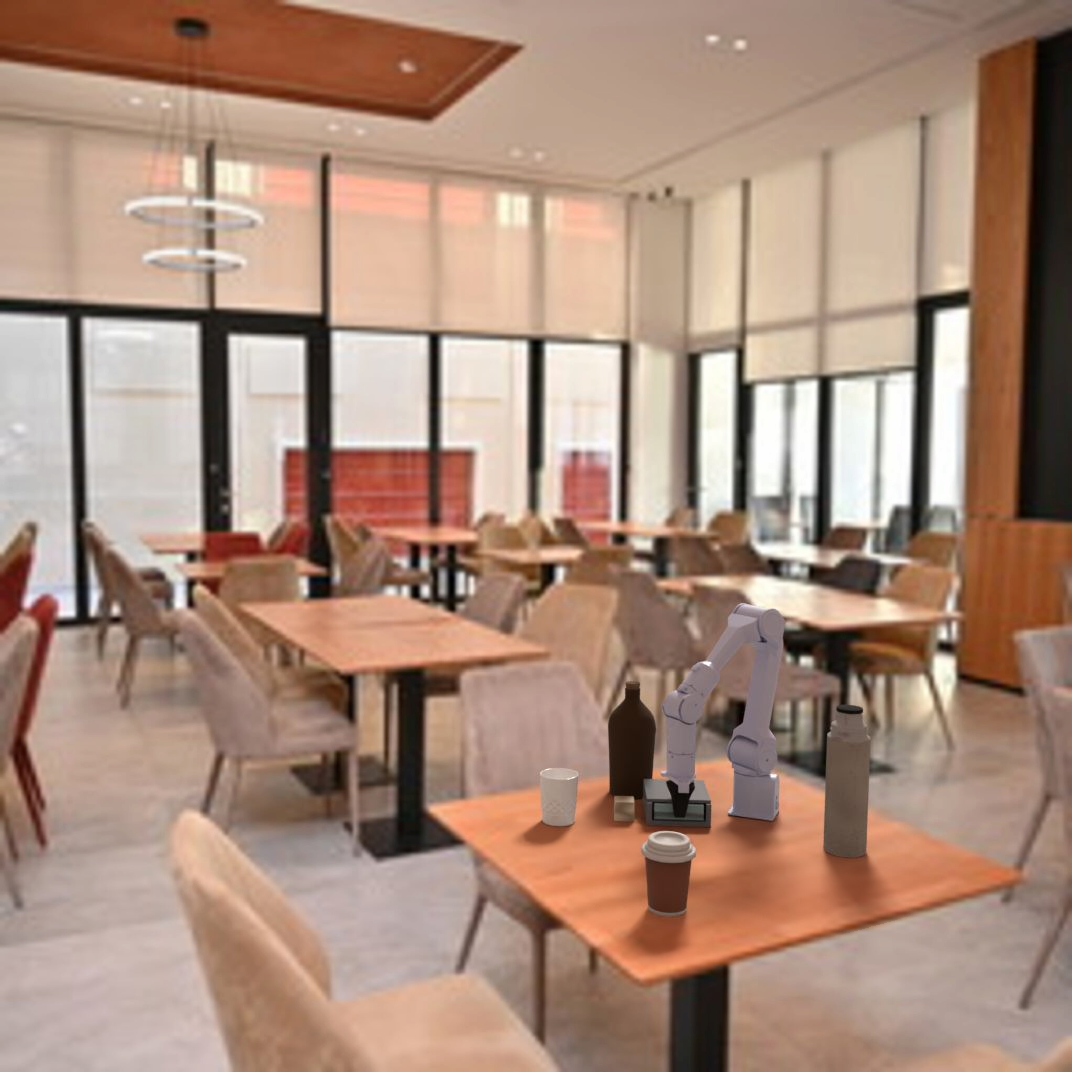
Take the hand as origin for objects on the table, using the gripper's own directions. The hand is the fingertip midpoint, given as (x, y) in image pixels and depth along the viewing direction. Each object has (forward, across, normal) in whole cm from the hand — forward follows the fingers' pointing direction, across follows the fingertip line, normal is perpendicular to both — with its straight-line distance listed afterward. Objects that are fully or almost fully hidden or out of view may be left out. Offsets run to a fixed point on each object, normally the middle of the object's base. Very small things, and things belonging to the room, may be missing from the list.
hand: (679, 817), depth 216 cm
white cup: (+2, -2, -25) cm, 25 cm away
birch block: (+2, -5, -11) cm, 12 cm away
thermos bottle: (+2, +10, +31) cm, 32 cm away
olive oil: (+2, -22, -9) cm, 24 cm away
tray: (+1, -7, 0) cm, 7 cm away
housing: (+2, -8, 0) cm, 8 cm away
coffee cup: (+2, +39, -5) cm, 40 cm away
